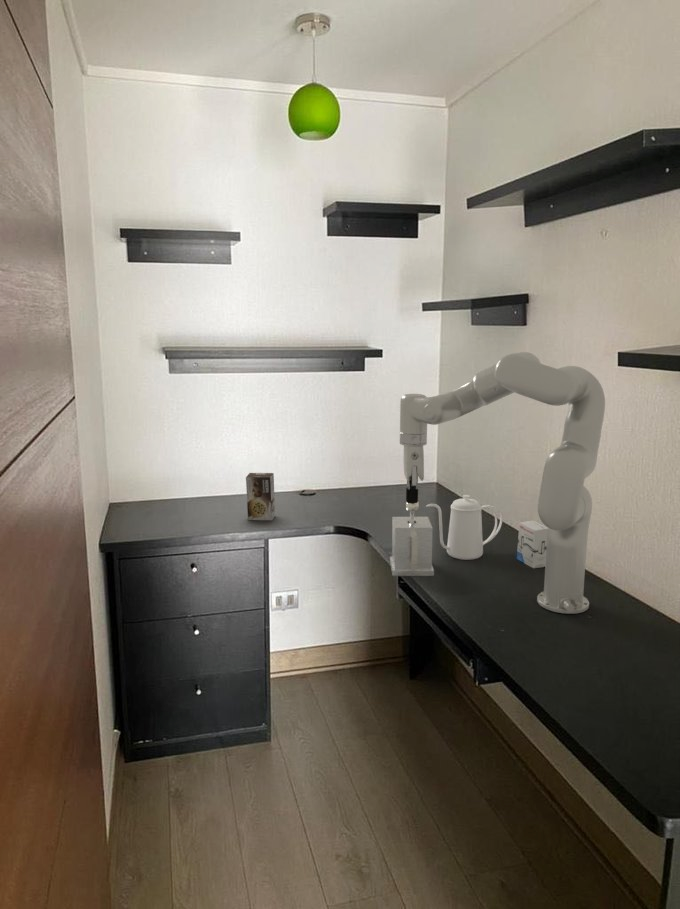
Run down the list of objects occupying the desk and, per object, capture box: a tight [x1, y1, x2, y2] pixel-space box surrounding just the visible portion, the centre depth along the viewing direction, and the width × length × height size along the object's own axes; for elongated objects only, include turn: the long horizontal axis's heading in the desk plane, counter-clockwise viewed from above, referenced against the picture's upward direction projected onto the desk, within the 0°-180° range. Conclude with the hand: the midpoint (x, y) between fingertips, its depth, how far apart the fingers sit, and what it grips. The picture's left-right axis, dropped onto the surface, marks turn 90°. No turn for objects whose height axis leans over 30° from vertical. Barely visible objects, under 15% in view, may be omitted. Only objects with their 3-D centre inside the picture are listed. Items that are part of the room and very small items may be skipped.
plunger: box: [405, 501, 420, 523], centre depth 197 cm, size 7×7×18 cm
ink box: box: [516, 520, 548, 569], centre depth 202 cm, size 9×5×12 cm, turn 21°
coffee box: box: [245, 472, 276, 521], centre depth 247 cm, size 9×6×16 cm
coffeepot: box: [425, 494, 504, 561], centre depth 208 cm, size 11×25×19 cm, turn 105°
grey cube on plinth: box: [389, 516, 435, 577], centre depth 197 cm, size 14×12×14 cm
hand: (411, 501), depth 196 cm, fingers closed
